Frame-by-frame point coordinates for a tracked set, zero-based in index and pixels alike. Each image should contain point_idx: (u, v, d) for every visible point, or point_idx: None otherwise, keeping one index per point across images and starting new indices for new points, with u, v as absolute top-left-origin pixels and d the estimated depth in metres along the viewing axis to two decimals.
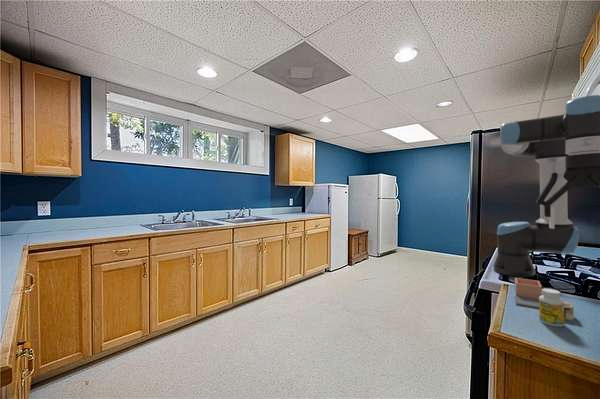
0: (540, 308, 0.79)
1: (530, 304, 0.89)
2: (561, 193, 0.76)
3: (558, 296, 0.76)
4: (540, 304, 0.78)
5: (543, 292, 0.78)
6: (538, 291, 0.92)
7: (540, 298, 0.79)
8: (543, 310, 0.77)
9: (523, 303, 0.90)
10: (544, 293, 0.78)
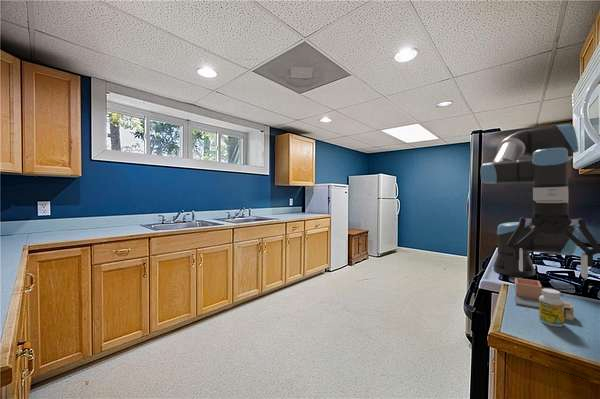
0: (540, 308, 0.79)
1: (530, 304, 0.89)
2: (529, 238, 0.79)
3: (558, 296, 0.76)
4: (540, 304, 0.78)
5: (543, 292, 0.78)
6: (538, 291, 0.92)
7: (540, 298, 0.79)
8: (543, 310, 0.77)
9: (523, 303, 0.90)
10: (544, 293, 0.78)
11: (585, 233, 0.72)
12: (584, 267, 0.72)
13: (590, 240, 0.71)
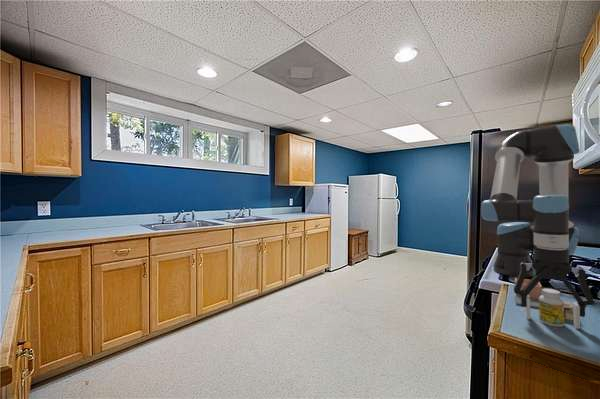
0: (540, 308, 0.79)
1: (530, 304, 0.89)
2: (533, 284, 0.79)
3: (558, 296, 0.76)
4: (540, 304, 0.78)
5: (543, 292, 0.78)
6: (538, 291, 0.92)
7: (540, 298, 0.79)
8: (543, 310, 0.77)
9: None
10: (544, 293, 0.78)
11: (582, 283, 0.73)
12: (576, 317, 0.74)
13: (585, 291, 0.73)
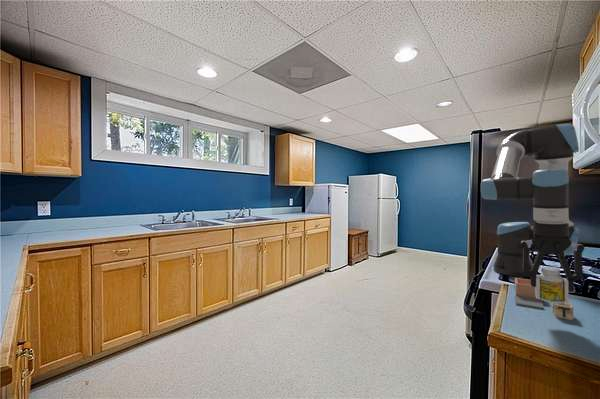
0: (540, 286, 0.79)
1: (530, 304, 0.89)
2: (539, 262, 0.78)
3: (558, 273, 0.76)
4: (540, 282, 0.79)
5: (543, 270, 0.78)
6: None
7: (540, 276, 0.79)
8: (543, 288, 0.78)
9: (523, 303, 0.90)
10: (544, 271, 0.78)
11: (577, 258, 0.73)
12: (565, 292, 0.75)
13: (577, 266, 0.73)
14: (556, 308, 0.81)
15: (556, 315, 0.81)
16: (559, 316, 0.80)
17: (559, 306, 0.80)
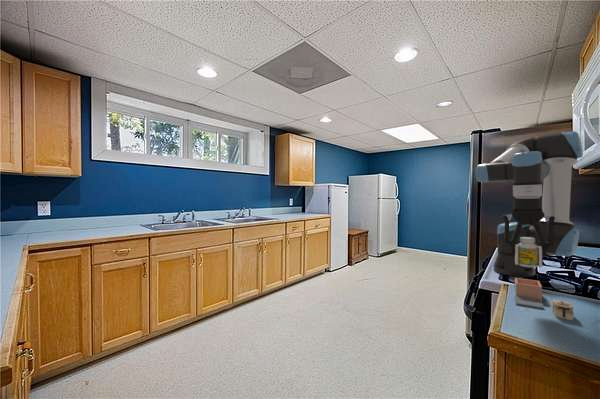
0: (518, 253, 0.91)
1: (530, 304, 0.89)
2: (517, 232, 0.91)
3: (533, 241, 0.88)
4: (518, 250, 0.91)
5: (521, 239, 0.90)
6: (538, 291, 0.92)
7: (518, 245, 0.91)
8: (521, 254, 0.90)
9: (523, 303, 0.90)
10: (521, 240, 0.90)
11: (549, 228, 0.86)
12: (539, 257, 0.87)
13: (549, 234, 0.86)
14: (556, 308, 0.81)
15: (556, 315, 0.81)
16: (559, 316, 0.81)
17: (559, 306, 0.80)
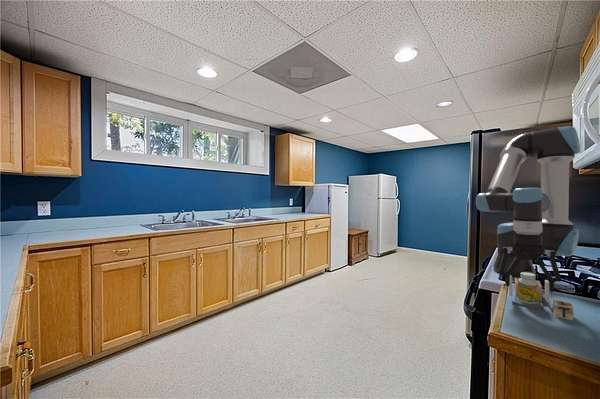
0: (519, 289, 0.92)
1: (530, 304, 0.89)
2: (514, 265, 0.92)
3: (534, 278, 0.89)
4: (519, 285, 0.91)
5: (521, 275, 0.91)
6: None
7: (519, 280, 0.92)
8: (521, 290, 0.90)
9: (523, 303, 0.90)
10: (522, 276, 0.91)
11: (552, 263, 0.86)
12: (546, 292, 0.87)
13: (554, 269, 0.86)
14: (556, 308, 0.81)
15: (556, 315, 0.81)
16: (559, 316, 0.81)
17: (559, 306, 0.80)
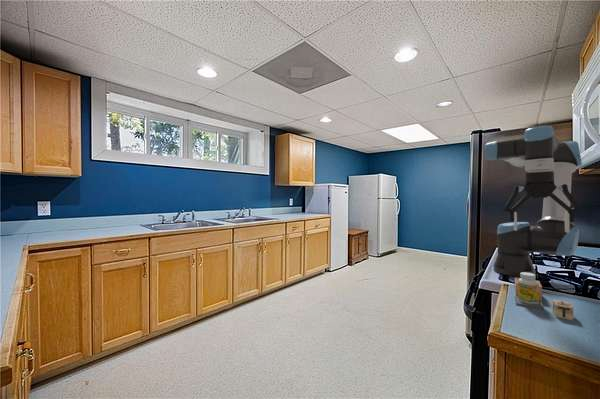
0: (519, 289, 0.92)
1: (530, 304, 0.89)
2: (522, 202, 0.95)
3: (534, 278, 0.89)
4: (519, 285, 0.92)
5: (521, 275, 0.91)
6: None
7: (519, 280, 0.92)
8: (521, 290, 0.90)
9: (523, 303, 0.90)
10: (522, 276, 0.91)
11: (567, 195, 0.88)
12: (566, 223, 0.88)
13: (571, 201, 0.87)
14: (556, 308, 0.81)
15: (556, 315, 0.81)
16: (559, 316, 0.81)
17: (559, 306, 0.80)
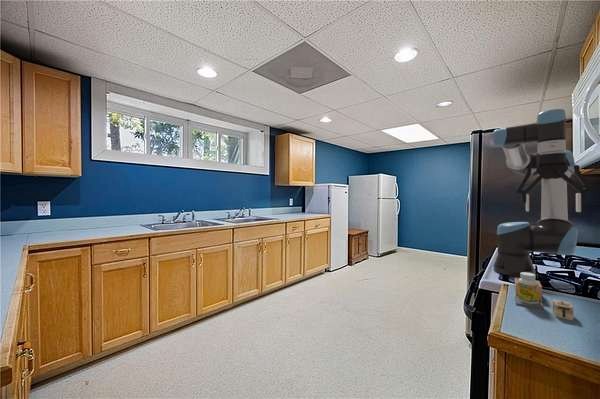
0: (519, 289, 0.92)
1: (530, 304, 0.89)
2: (534, 184, 0.98)
3: (534, 278, 0.89)
4: (519, 285, 0.92)
5: (521, 275, 0.91)
6: None
7: (519, 280, 0.92)
8: (521, 290, 0.90)
9: (523, 303, 0.90)
10: (522, 276, 0.91)
11: (579, 176, 0.91)
12: (578, 203, 0.91)
13: (583, 181, 0.90)
14: (556, 308, 0.81)
15: (556, 315, 0.81)
16: (559, 316, 0.81)
17: (559, 306, 0.80)
